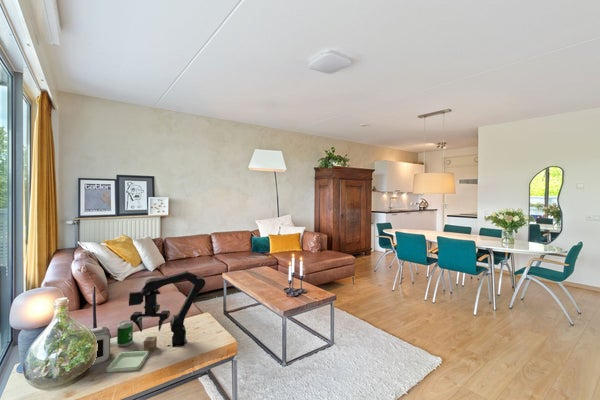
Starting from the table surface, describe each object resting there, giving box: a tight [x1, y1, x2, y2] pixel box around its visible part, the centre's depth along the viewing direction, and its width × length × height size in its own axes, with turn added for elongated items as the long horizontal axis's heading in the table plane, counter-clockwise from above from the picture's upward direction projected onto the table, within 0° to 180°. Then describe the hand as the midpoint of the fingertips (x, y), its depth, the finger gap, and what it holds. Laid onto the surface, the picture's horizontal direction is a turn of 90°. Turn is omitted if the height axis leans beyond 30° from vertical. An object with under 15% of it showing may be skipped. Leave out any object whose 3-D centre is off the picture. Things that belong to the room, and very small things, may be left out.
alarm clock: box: [89, 326, 111, 366], centre depth 144 cm, size 16×11×16 cm
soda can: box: [116, 319, 134, 347], centre depth 160 cm, size 8×8×12 cm
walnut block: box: [142, 336, 158, 353], centre depth 155 cm, size 5×5×6 cm
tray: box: [105, 350, 150, 373], centre depth 142 cm, size 14×14×2 cm
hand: (150, 331), depth 155 cm, fingers open, 9 cm apart
